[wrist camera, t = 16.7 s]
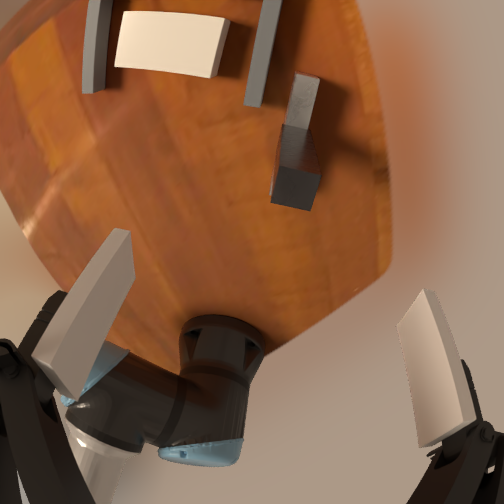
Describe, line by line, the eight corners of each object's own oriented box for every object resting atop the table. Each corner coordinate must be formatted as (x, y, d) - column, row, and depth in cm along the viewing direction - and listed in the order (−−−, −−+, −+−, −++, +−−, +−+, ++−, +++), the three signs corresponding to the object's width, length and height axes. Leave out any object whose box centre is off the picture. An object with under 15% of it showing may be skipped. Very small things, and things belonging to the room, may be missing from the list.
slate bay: (261, 103, 27) (259, 107, 25) (94, 88, 27) (82, 93, 25) (285, -12, 19) (285, -17, 17) (104, -12, 19) (91, -14, 17)
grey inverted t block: (291, 182, 32) (291, 267, 21) (268, 177, 32) (256, 260, 21) (318, 76, 25) (343, 98, 14) (292, 70, 25) (297, 86, 14)
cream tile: (216, 75, 26) (209, 78, 23) (128, 63, 25) (114, 66, 23) (230, 21, 22) (224, 18, 20) (137, 12, 21) (123, 11, 19)
